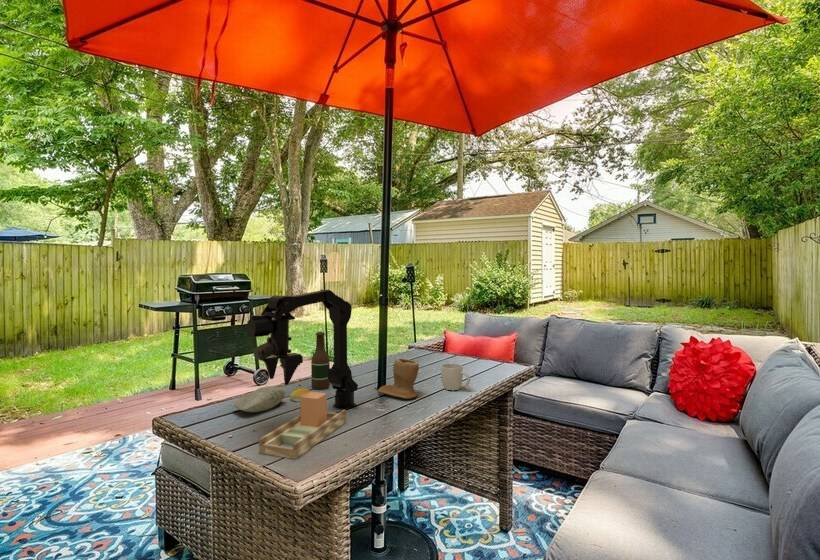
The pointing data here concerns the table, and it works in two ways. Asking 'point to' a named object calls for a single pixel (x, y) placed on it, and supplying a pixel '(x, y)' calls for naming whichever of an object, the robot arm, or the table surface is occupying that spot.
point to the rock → (260, 399)
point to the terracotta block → (313, 409)
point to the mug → (453, 376)
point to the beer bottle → (320, 365)
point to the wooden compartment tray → (298, 436)
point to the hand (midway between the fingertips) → (279, 381)
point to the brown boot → (402, 379)
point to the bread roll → (298, 394)
